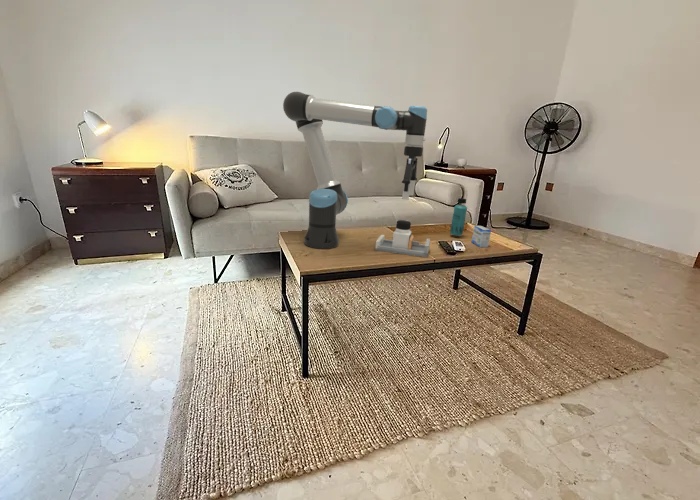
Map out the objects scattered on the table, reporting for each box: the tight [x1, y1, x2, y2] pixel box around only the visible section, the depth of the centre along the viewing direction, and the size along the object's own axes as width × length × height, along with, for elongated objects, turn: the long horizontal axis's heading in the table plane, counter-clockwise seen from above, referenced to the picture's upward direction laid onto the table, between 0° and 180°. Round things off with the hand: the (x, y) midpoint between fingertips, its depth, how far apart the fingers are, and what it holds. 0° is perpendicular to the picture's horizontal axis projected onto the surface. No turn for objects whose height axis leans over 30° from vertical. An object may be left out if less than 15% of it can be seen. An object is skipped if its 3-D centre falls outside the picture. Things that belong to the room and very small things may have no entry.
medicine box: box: [471, 225, 492, 248], centre depth 166 cm, size 8×4×9 cm, turn 12°
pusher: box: [408, 234, 420, 250], centre depth 150 cm, size 4×8×5 cm, turn 164°
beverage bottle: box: [449, 197, 468, 237], centre depth 176 cm, size 6×7×20 cm
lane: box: [375, 234, 431, 258], centre depth 151 cm, size 22×12×5 cm, turn 74°
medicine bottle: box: [392, 219, 413, 249], centre depth 150 cm, size 7×7×12 cm
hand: (407, 197), depth 150 cm, fingers open, 13 cm apart
